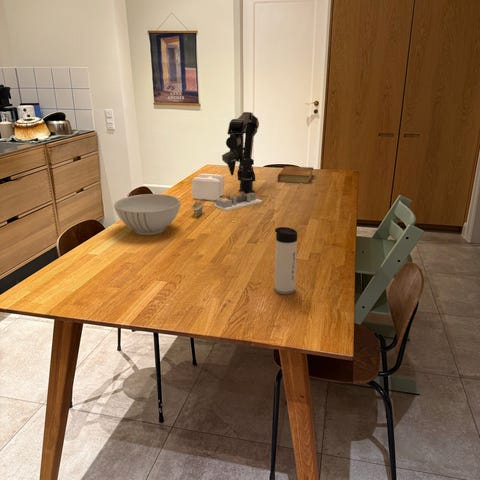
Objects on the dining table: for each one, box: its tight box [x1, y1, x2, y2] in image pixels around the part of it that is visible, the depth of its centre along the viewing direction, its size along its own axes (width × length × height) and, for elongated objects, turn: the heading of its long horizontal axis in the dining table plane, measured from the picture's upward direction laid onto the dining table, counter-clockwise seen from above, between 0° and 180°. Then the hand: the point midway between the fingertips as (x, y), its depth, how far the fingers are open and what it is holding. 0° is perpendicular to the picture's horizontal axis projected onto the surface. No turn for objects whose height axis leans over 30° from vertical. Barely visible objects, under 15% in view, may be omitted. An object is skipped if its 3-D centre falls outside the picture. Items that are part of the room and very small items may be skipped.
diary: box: [277, 165, 314, 185], centre depth 279 cm, size 23×19×6 cm
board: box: [213, 191, 263, 212], centre depth 227 cm, size 23×10×5 cm, turn 128°
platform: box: [190, 200, 205, 218], centre depth 211 cm, size 12×18×7 cm, turn 167°
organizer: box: [190, 173, 225, 202], centre depth 237 cm, size 15×11×12 cm
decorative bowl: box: [113, 193, 182, 236], centre depth 190 cm, size 27×27×12 cm
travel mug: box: [273, 226, 298, 295], centre depth 137 cm, size 6×7×20 cm
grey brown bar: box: [220, 192, 257, 203], centre depth 227 cm, size 20×3×3 cm, turn 128°
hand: (237, 176), depth 231 cm, fingers open, 9 cm apart
